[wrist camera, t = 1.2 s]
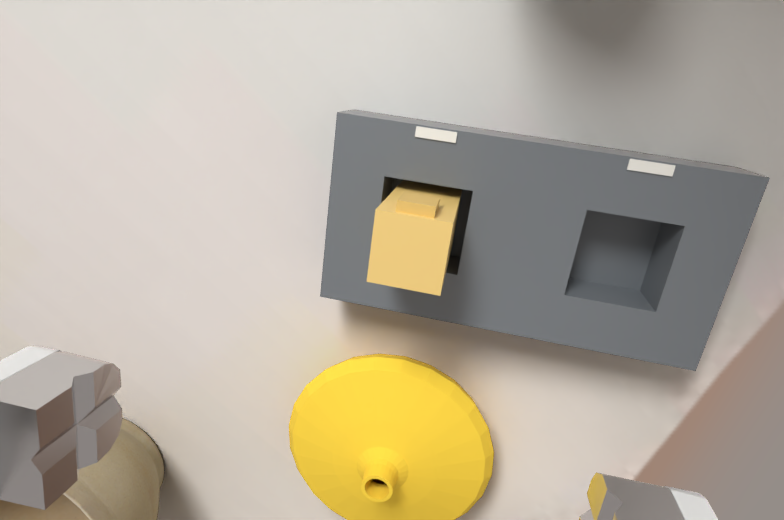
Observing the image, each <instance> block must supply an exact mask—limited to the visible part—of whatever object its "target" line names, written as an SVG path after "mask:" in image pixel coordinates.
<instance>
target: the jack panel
mask: <svg viewBox="0 0 784 520" xmlns="http://www.w3.org/2000/svg"><path fill="white" fill-rule="evenodd" d="M403 180H407V181H413V182H419V183H425V184H431V185H437V186H443V187H449V188H455V189H461V190H462V194H461V200H460V205H459V211H458V216H457V222H456V227H455V233H454V238H453V244H452V249H451V253H450V257H449V261H448V266H447V270H446V274H445V278H444V283H443V287H442V291H441V295H440V296H438V295H433V294H428V293H423V292H418V291H412V290H407V289H402V288H397V287H392V286H386V285H381V284H376V283H371V282H367V274H368V266H369V258H370V250H371V242H372V234H373V225H374V217H375V209H376V208H377V207H378V206H379V205H380V204H381V203H382V202H383V201H384V200H385V199H386V198H387V197H388V196H389V195H390V193H391V192H392V191H393V190H394V189H395V188H396V187H397V186H398V185H399V184H400V183H401V182H402V181H403ZM768 181H769V177H765V176H762V175H759V174H756V173H753V172H750V171H747V170H744V169H741V168H737V167H732V166H726V165H719V164H712V163H706V162H699V161H692V160H686V159H679V158H672V157H666V156H659V155H652V154H646V153H639V152H633V151H626V150H619V149H613V148H606V147H599V146H593V145H586V144H579V143H573V142H566V141H559V140H553V139H546V138H539V137H533V136H526V135H519V134H513V133H506V132H500V131H493V130H486V129H480V128H473V127H466V126H460V125H453V124H446V123H440V122H433V121H426V120H420V119H413V118H406V117H400V116H393V115H386V114H380V113H373V112H367V111H360V110H348V111H342V112H337V120H336V131H335V141H334V152H333V163H332V174H331V185H330V196H329V207H328V217H327V228H326V239H325V250H324V261H323V272H322V283H321V294H320V296H321V297H326V298H331V299H336V300H341V301H346V302H351V303H356V304H361V305H366V306H371V307H376V308H381V309H386V310H391V311H396V312H401V313H406V314H411V315H416V316H421V317H426V318H431V319H436V320H441V321H446V322H451V323H457V324H462V325H467V326H472V327H477V328H482V329H487V330H492V331H497V332H502V333H507V334H512V335H517V336H522V337H527V338H532V339H537V340H542V341H547V342H552V343H557V344H562V345H567V346H572V347H577V348H582V349H587V350H592V351H597V352H602V353H607V354H612V355H618V356H623V357H628V358H633V359H638V360H643V361H648V362H653V363H658V364H663V365H668V366H673V367H678V368H683V369H688V370H693V371H696V368H697V366H698V363H699V361H700V358H701V355H702V353H703V350H704V348H705V345H706V342H707V340H708V337H709V335H710V332H711V329H712V327H713V324H714V322H715V319H716V316H717V314H718V311H719V309H720V306H721V303H722V301H723V298H724V296H725V293H726V290H727V288H728V285H729V282H730V280H731V277H732V275H733V272H734V269H735V267H736V264H737V262H738V259H739V256H740V254H741V251H742V249H743V246H744V243H745V241H746V238H747V236H748V233H749V230H750V228H751V225H752V223H753V220H754V217H755V215H756V212H757V210H758V207H759V204H760V202H761V199H762V196H763V194H764V191H765V189H766V186H767V183H768Z"/></svg>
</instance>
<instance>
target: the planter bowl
mask: <svg viewBox="0 0 784 520" xmlns="http://www.w3.org/2000/svg"><path fill="white" fill-rule="evenodd" d="M163 478H164V464H163V460H162V457H161V455H160V452H159V450H158V448H157V446H156V445H155V443H154V442H153V441H152V440H151V438H150V437H149V436H148V435H147V434H146V433H145V432H144V431H143V430H141V429H140V428H139V427H137V426H136V425H134V424H133V423H131V422H129V421H127V420H125V419H123V418H122V424H121V428H120V432H119V435H118V437H117V439H116V441H115V442H114V444H113V446H112V448H111V449H110V451H109V452H108V453H107V454H106V455H105V456H104V457H103V458H102V459H101V460H99V461H98V462H97V463H94V464H92V465H89V466H87V467H84V468H81V469H79V474H78V481H77V482H75V483H74V484H73V485H72V486H71V487H70V488H69V489H68V490H67V491H66V492H64V493H63V494H62V495H61V496H60V497H59V498H58V499H57V500H56V501H55V502H53V503H52V504H51V505H50V506H49V507H48V508H47V509H46V510H42V509H38V508H34V507H29V506H25V505H21V504H17V503H12V502H8V501H4V500H0V520H157V515H158V508H159V489H160V487H161V485H162V482H163Z"/></svg>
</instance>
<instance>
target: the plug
mask: <svg viewBox="0 0 784 520" xmlns="http://www.w3.org/2000/svg"><path fill="white" fill-rule="evenodd" d="M461 194H462V190H461V189H455V188H449V187H443V186H437V185H431V184H425V183H419V182H413V181H407V180H403V181H402V182H401V183H400V184H399V185H398V186H397V187H396V188H395V189H394V190H393V191H392V192H391V193H390V195H389V196H388V197H387V198H386V199H385V200H384V201H383V202H382V203H381V204H380V205H379V206H378V207H377V208H376V209H375V217H374V225H373V234H372V242H371V250H370V258H369V266H368V274H367V282H371V283H376V284H381V285H386V286H392V287H397V288H402V289H407V290H412V291H418V292H423V293H428V294H433V295H438V296H440V295H441V291H442V287H443V283H444V278H445V274H446V270H447V266H448V261H449V257H450V253H451V249H452V244H453V238H454V233H455V227H456V222H457V216H458V211H459V205H460V200H461Z"/></svg>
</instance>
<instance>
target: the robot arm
mask: <svg viewBox="0 0 784 520" xmlns="http://www.w3.org/2000/svg"><path fill="white" fill-rule="evenodd" d="M120 388H121V376H120V369H119V368H118V367H116V366H115V365H114V364H113V363H109V362H105V361H101V360H97V359H93V358H89V357H85V356H81V355H77V354H73V353H69V352H62V351H60V350H56V349H52V348H47V347H43V346H28V347H26V348H24V349H22V350H20V351H18V352H16V353H14V354H12V355H10V356H8V357H6V358H4V359H2V360H0V500H4V501H8V502H12V503H17V504H21V505H25V506H29V507H34V508H38V509H42V510H46V509H47V508H48V507H49V506H50V505H51V504H52V503H53V502H55V501H56V500H57V499H58V498H59V497H60V496H61V495H62V494H63V493H64V492H66V491H67V490H68V489H69V488H70V487H71V486H72V485H73V484H74V483H75V482H77V481H78V474H79V469H81V468H84V467H87V466H89V465H92V464H94V463H97V462H98V461H99V460H101V459H102V458H103V457H104V456H105V455H106V454H107V453H108V452H109V451H110V449H111V448H112V446H113V444H114V442H115V441H116V439H117V437H118V435H119V432H120V428H121V424H122V408H121V406H120V405H119V403H118V402H117V400H116V398H115V397H114V395H115V394H116V392H117V391H118V390H119V389H120ZM587 495H588V499H589V503H590V507H591V509H590V510H589V511H587V512H586V513H584V514H583V515H581V516H580V518H579V520H718V518H717V516H716V515H715V513H714V511H713V510H712V508H711V506H710V504H709V503H708V501H707V499H706V498H705V497H704V496H702V495H701V494H700V493H698V492H692V491H687V490H682V489H677V488H672V487H667V486H664V487H662V486H657V485H652V484H648V483H643V482H639V481H634V480H629V479H624V478H620V477H615V476H610V475H606V474H601V473H596V474H595V475H594V477H593V478H592V480H591V483H590V486H589V489H588V492H587Z"/></svg>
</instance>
